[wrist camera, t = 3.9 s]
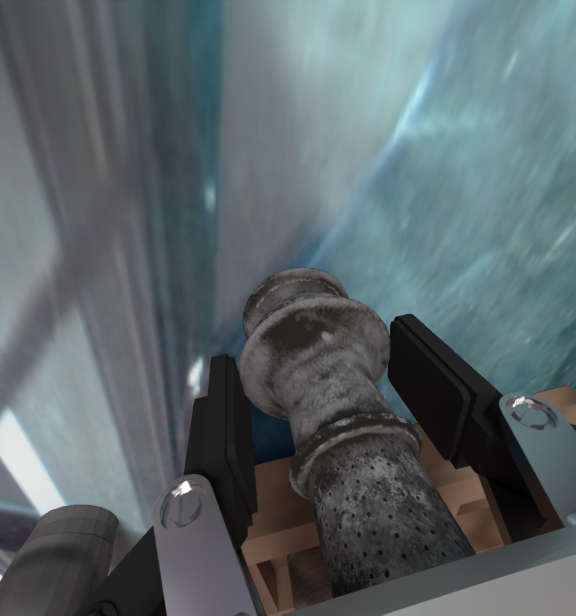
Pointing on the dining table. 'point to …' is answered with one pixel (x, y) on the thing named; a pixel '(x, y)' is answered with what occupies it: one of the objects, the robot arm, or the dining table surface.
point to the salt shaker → (345, 431)
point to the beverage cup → (59, 563)
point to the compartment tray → (302, 529)
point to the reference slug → (308, 578)
